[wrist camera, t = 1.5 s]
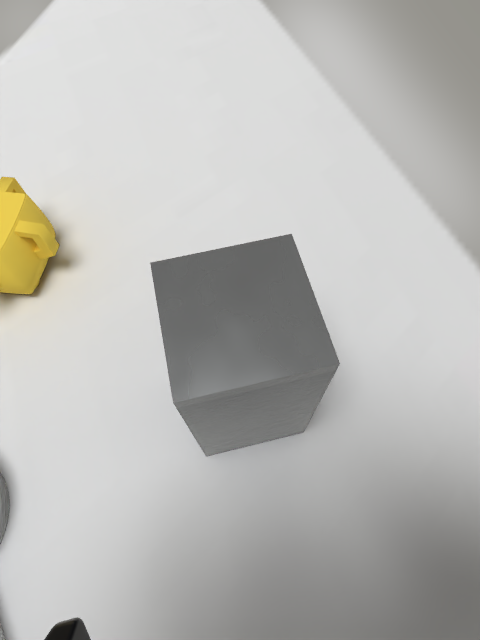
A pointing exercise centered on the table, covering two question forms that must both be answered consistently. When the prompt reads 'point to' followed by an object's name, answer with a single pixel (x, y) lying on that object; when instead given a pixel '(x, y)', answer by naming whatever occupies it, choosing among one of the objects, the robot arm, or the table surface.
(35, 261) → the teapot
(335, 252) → the table surface
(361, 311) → the table surface
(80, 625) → the robot arm
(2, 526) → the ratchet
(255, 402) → the brushed steel square block
